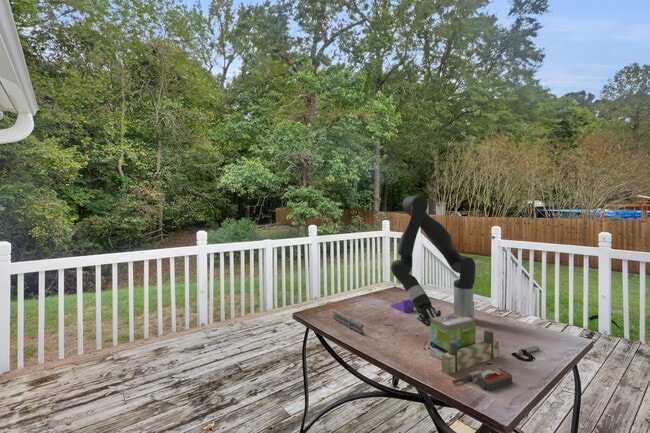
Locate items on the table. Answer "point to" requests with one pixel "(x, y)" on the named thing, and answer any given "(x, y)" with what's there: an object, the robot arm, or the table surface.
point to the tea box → (451, 333)
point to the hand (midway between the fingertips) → (440, 333)
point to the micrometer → (526, 353)
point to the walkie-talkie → (489, 378)
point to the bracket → (404, 306)
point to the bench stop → (469, 354)
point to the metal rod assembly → (348, 321)
